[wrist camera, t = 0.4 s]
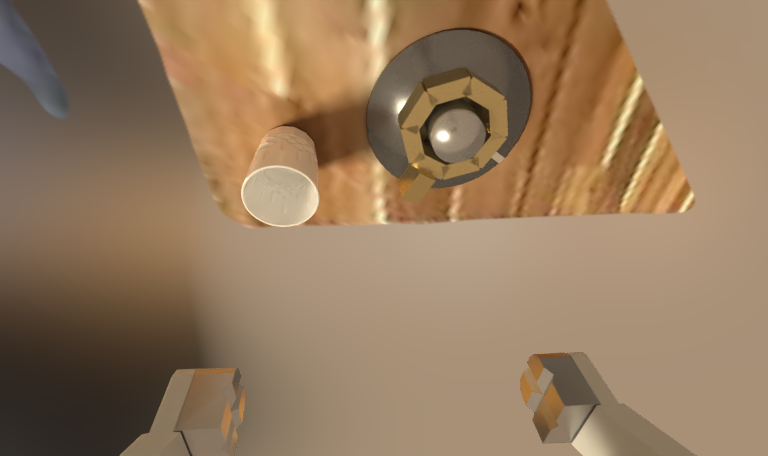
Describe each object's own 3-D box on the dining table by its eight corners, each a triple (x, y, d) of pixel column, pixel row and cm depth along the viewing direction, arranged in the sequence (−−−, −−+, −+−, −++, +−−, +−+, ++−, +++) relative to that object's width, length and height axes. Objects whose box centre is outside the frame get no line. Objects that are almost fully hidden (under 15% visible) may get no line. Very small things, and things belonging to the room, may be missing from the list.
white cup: (332, 139, 47) (332, 185, 40) (304, 186, 51) (299, 236, 44) (270, 108, 44) (258, 152, 36) (245, 161, 48) (230, 210, 40)
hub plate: (350, 50, 41) (352, 67, 37) (537, 11, 40) (560, 24, 36) (381, 198, 54) (385, 223, 50) (522, 170, 53) (538, 193, 49)
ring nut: (438, 49, 41) (447, 62, 38) (519, 101, 46) (532, 116, 43) (366, 165, 49) (368, 183, 46) (440, 199, 54) (447, 217, 51)
